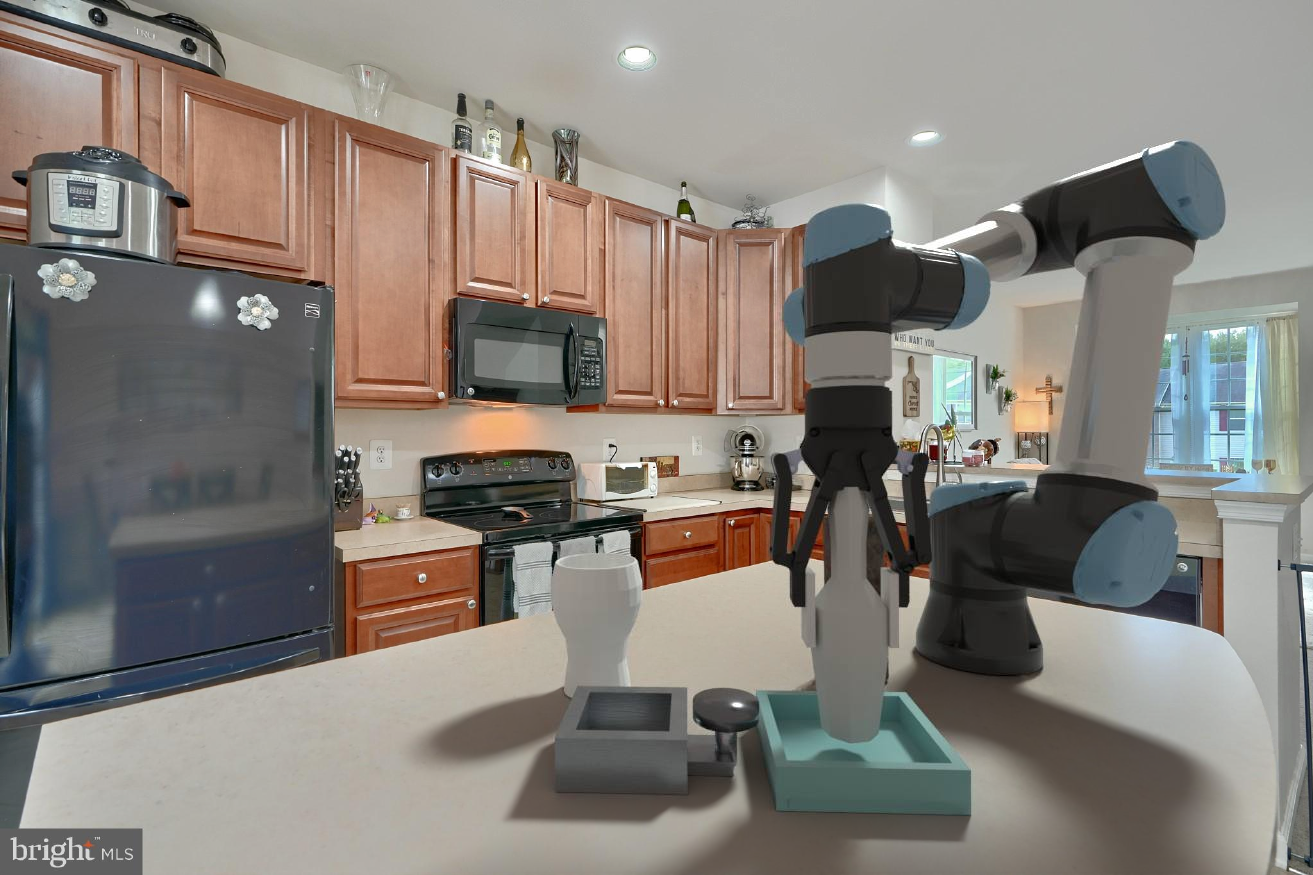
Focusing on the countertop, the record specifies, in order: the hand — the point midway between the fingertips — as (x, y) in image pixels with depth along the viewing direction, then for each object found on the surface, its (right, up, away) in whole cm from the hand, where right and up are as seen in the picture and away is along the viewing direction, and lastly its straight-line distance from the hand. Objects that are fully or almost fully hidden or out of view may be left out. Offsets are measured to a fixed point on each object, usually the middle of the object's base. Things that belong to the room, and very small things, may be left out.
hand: (849, 642), depth 58 cm
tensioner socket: (-17, -11, +1) cm, 20 cm away
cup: (-24, -11, +17) cm, 32 cm away
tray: (0, -11, 0) cm, 11 cm away
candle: (+7, -11, +21) cm, 25 cm away
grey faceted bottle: (0, -8, 0) cm, 8 cm away
